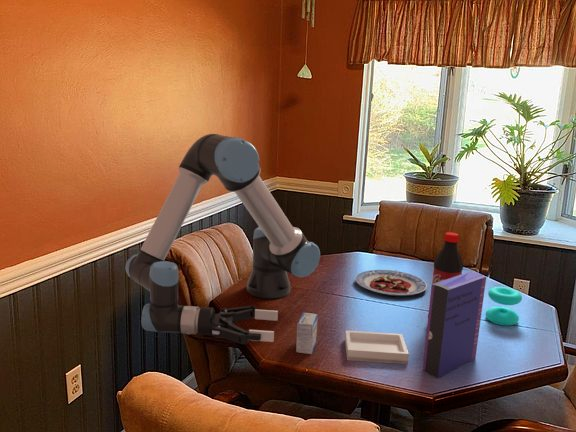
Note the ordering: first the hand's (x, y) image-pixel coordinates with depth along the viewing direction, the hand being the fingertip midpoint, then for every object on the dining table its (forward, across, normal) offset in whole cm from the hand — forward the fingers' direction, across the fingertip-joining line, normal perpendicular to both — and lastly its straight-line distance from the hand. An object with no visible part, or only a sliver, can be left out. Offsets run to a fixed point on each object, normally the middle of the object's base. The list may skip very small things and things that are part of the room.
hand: (275, 325), depth 154 cm
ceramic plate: (+38, -53, -6) cm, 66 cm away
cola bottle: (+50, -20, -6) cm, 54 cm away
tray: (+28, 0, -6) cm, 28 cm away
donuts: (+70, -28, -6) cm, 76 cm away
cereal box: (+47, +4, -6) cm, 47 cm away
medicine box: (+9, 0, -6) cm, 11 cm away
